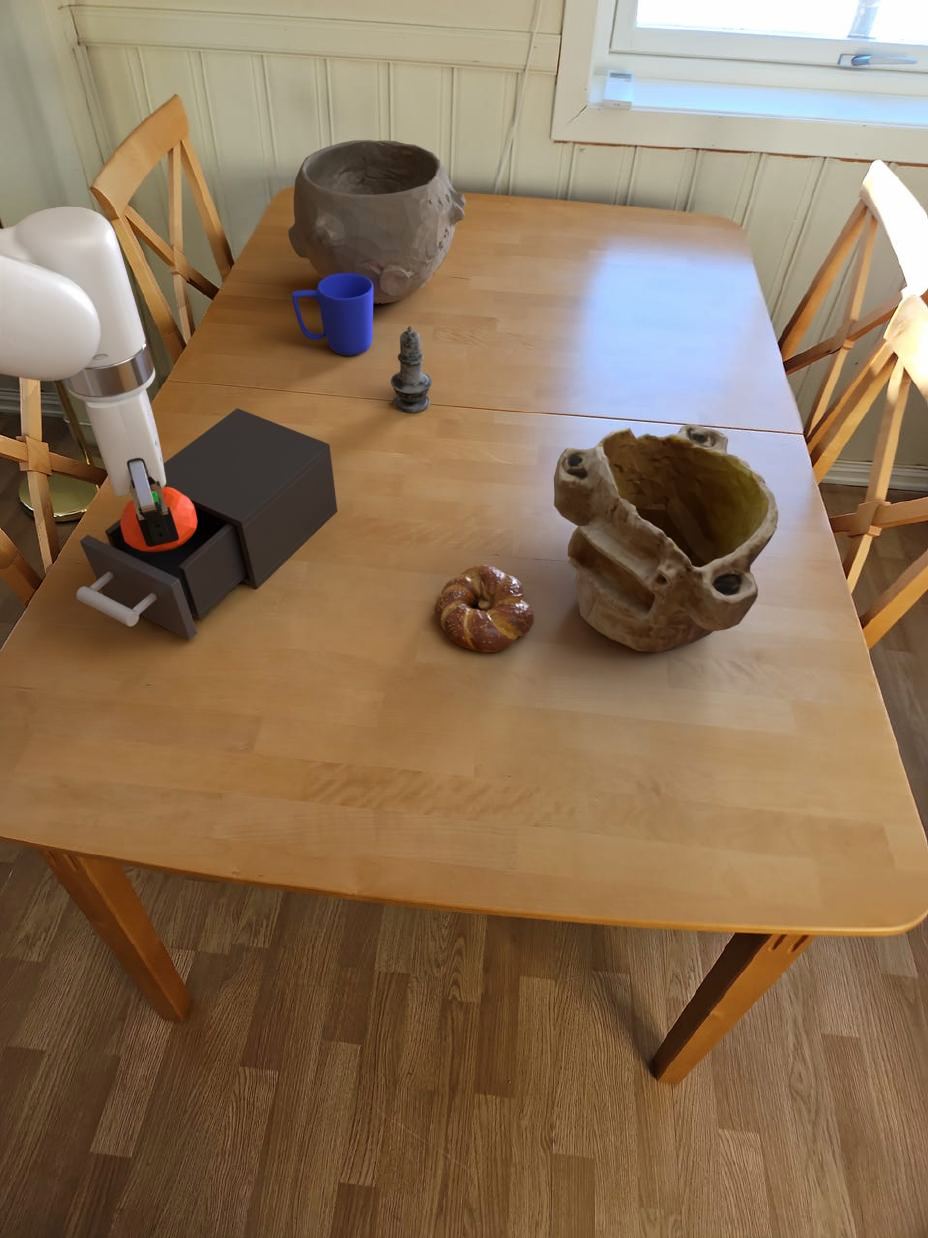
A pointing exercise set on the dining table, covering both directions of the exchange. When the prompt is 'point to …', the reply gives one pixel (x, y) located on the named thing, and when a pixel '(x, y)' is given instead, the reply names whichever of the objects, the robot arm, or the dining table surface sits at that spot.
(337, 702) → the dining table surface
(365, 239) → the bowl
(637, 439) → the ceramic vessel
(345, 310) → the mug
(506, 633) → the pretzel
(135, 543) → the pumpkin
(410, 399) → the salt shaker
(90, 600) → the drawer
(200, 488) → the cabinet
